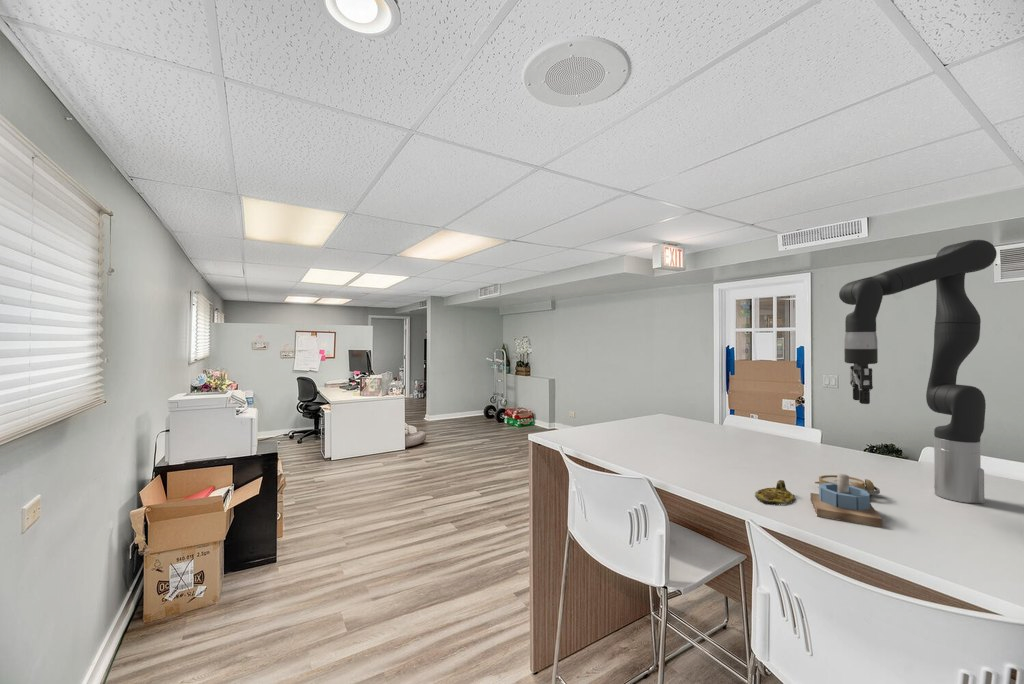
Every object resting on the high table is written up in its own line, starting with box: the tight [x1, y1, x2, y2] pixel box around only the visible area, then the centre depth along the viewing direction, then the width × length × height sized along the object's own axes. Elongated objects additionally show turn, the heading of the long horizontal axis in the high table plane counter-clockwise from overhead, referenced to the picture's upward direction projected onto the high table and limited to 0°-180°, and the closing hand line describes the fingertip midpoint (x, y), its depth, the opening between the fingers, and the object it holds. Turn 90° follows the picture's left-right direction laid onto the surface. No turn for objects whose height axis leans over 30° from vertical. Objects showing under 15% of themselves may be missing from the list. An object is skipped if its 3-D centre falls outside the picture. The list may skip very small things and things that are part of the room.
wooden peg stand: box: [810, 473, 883, 528], centre depth 111 cm, size 13×13×10 cm
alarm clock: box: [814, 474, 881, 496], centre depth 126 cm, size 11×5×15 cm
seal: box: [754, 479, 795, 506], centre depth 122 cm, size 9×5×15 cm
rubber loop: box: [818, 483, 871, 511], centre depth 113 cm, size 10×10×4 cm
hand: (860, 401), depth 122 cm, fingers open, 8 cm apart
